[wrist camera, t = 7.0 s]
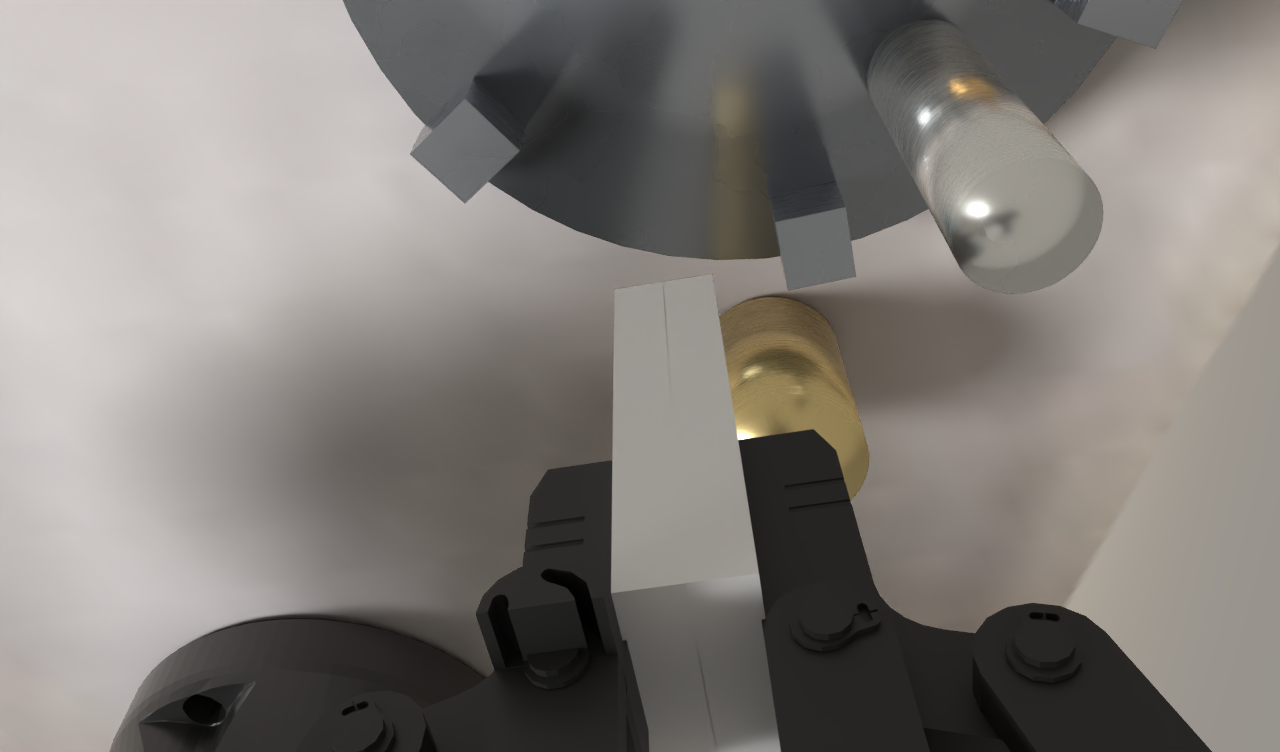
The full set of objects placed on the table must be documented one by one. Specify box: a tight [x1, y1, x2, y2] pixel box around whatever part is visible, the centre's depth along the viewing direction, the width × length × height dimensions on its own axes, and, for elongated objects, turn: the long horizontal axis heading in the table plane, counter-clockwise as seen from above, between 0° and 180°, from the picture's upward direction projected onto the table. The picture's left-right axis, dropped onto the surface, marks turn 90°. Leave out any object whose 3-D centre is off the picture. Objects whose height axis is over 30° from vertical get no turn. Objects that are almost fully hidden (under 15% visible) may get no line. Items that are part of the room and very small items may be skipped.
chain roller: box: [719, 297, 869, 500], centre depth 29 cm, size 4×4×5 cm
